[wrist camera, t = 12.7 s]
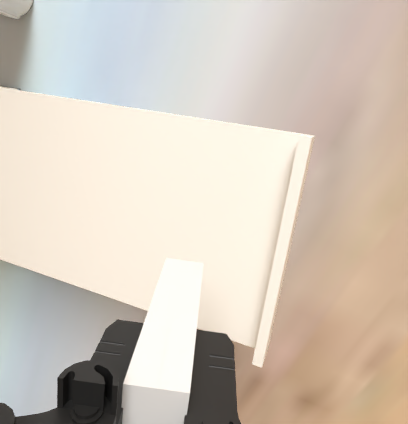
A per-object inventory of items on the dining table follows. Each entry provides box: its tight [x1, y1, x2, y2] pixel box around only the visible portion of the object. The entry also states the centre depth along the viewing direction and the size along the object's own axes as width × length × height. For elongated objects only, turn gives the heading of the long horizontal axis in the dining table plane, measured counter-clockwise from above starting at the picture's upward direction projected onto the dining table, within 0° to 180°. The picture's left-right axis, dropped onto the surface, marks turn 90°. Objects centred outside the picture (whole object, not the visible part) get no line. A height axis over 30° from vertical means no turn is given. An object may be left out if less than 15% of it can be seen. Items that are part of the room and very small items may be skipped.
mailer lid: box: [0, 88, 315, 368], centre depth 24 cm, size 13×25×2 cm, turn 83°
